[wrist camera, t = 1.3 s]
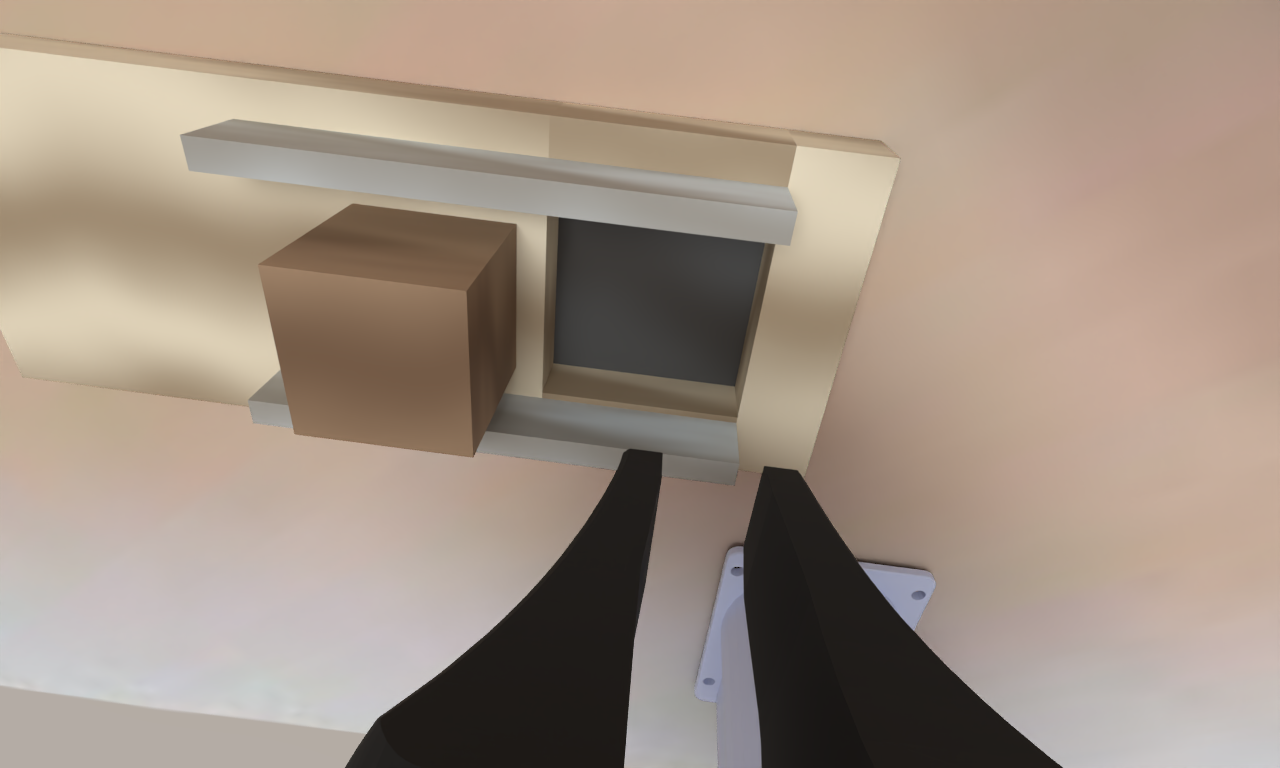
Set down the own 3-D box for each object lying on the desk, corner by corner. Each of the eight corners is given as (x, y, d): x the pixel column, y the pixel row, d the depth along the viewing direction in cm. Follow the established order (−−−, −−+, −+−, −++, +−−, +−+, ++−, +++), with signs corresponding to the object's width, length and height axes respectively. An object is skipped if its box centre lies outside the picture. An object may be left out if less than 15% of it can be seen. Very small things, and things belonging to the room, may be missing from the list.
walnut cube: (516, 366, 20) (473, 457, 16) (371, 348, 20) (294, 434, 16) (516, 223, 17) (466, 291, 14) (352, 203, 18) (257, 264, 14)
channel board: (796, 441, 23) (813, 522, 19) (72, 348, 23) (-36, 411, 20) (881, 140, 18) (924, 180, 14) (-59, 25, 18) (-237, 37, 14)
